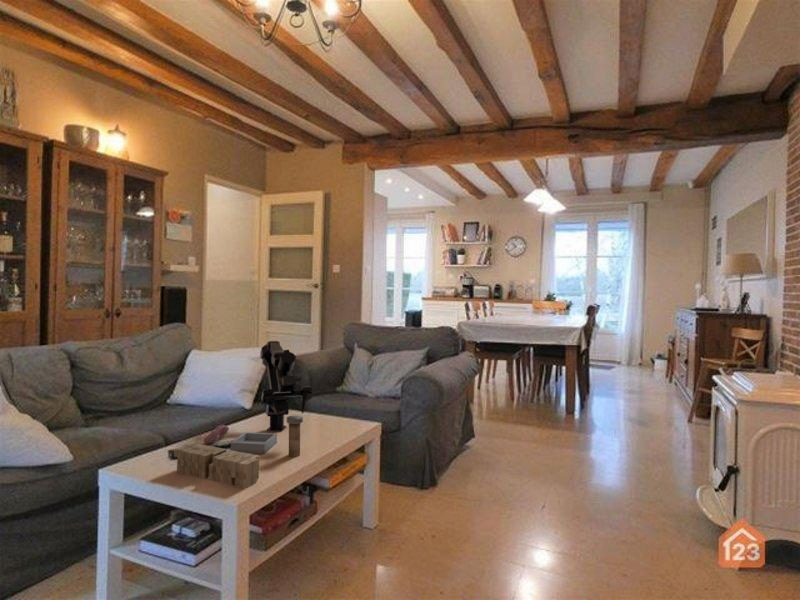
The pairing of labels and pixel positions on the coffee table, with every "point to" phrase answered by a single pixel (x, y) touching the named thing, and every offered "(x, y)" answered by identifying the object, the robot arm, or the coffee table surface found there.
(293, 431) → the pin
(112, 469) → the coffee table surface
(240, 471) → the block tower
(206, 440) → the pink toy car
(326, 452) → the coffee table surface
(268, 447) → the tray
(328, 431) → the coffee table surface
